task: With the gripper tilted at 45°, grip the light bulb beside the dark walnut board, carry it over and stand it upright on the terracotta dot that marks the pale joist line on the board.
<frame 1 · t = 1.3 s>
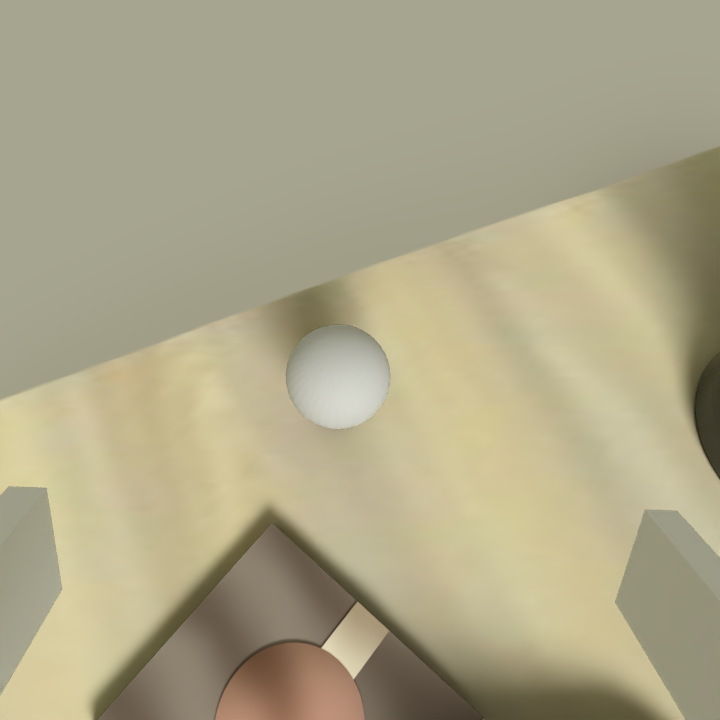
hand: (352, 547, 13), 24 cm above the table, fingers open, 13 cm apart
light bulb: (333, 413, 39), on the table
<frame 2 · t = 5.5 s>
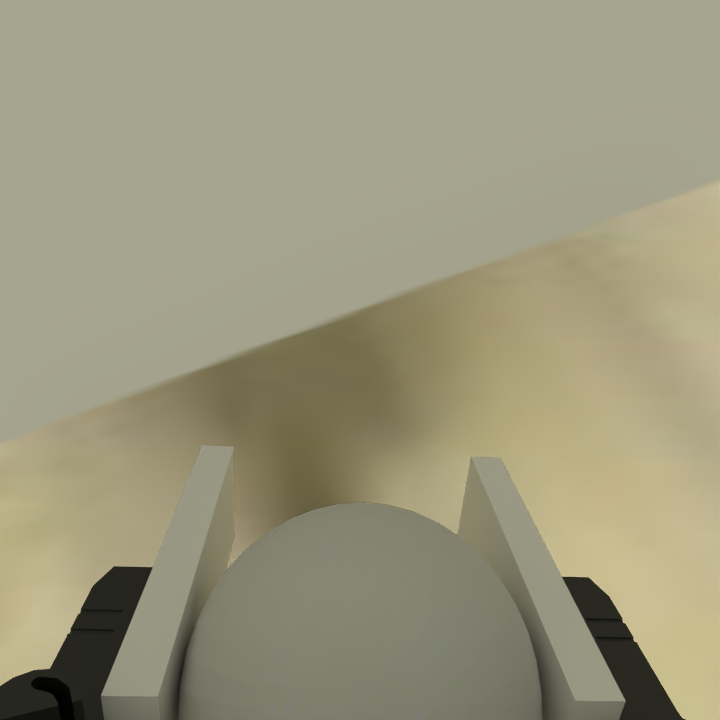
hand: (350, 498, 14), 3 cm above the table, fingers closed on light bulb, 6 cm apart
light bulb: (337, 646, 16), on the table, touching gripper
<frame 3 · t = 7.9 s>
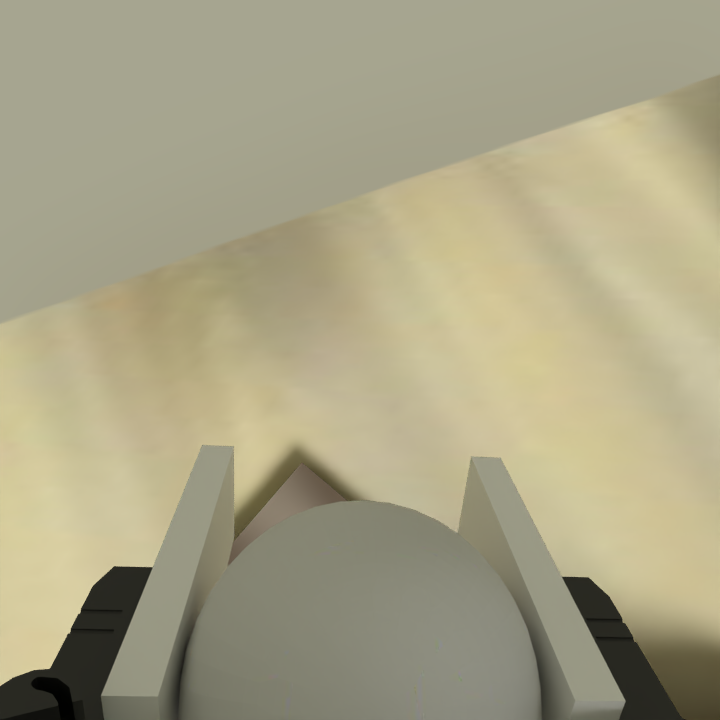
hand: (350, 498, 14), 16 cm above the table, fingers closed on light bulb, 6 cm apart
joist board: (332, 690, 26), on the table
light bulb: (337, 645, 16), point 12 cm above the table, touching gripper
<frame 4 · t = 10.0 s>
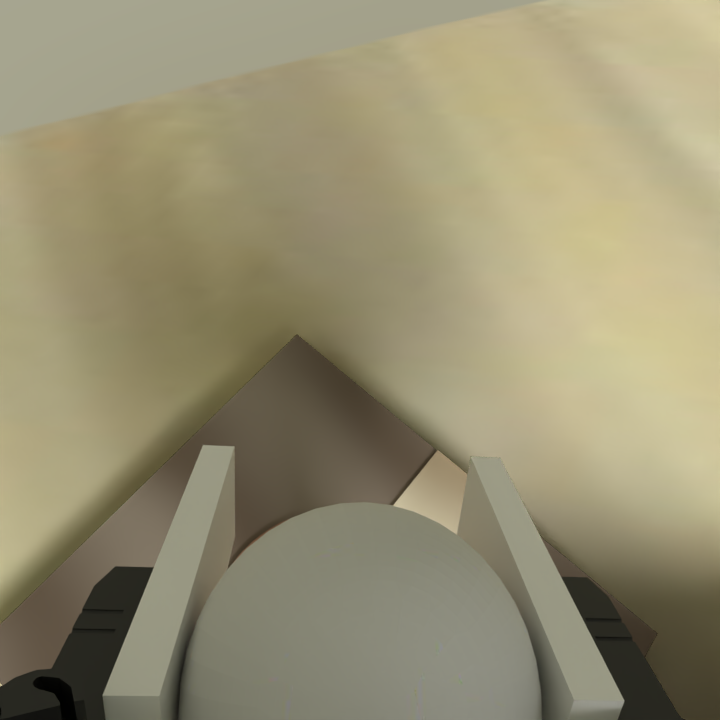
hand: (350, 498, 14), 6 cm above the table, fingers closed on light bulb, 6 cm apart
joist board: (331, 639, 19), on the table
light bulb: (337, 646, 16), point 3 cm above the table, touching gripper
when the fingers open (6 cm above the table, at t = 10.2 s): light bulb drops 1 cm, resting on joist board.
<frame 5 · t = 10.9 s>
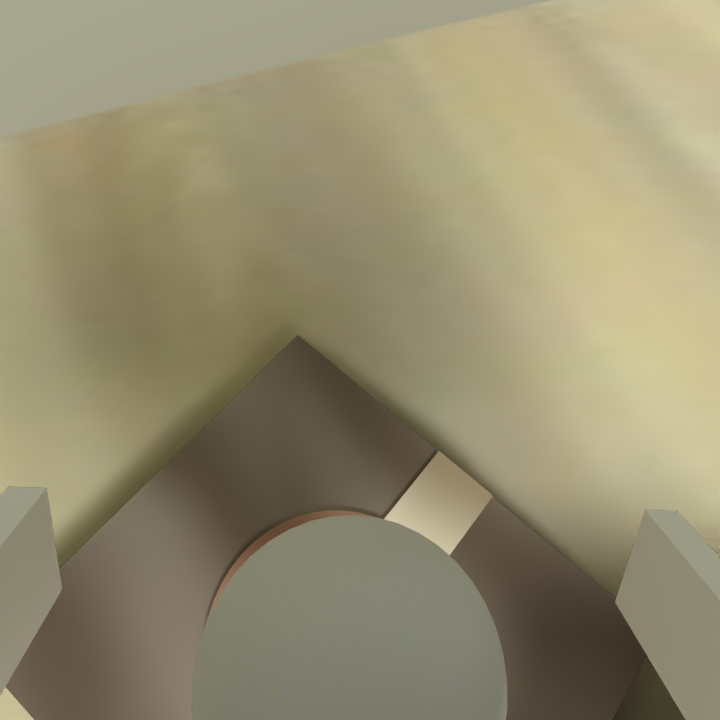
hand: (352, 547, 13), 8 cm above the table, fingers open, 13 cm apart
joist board: (333, 639, 19), on the table
light bulb: (338, 643, 18), point 1 cm above the table, touching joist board
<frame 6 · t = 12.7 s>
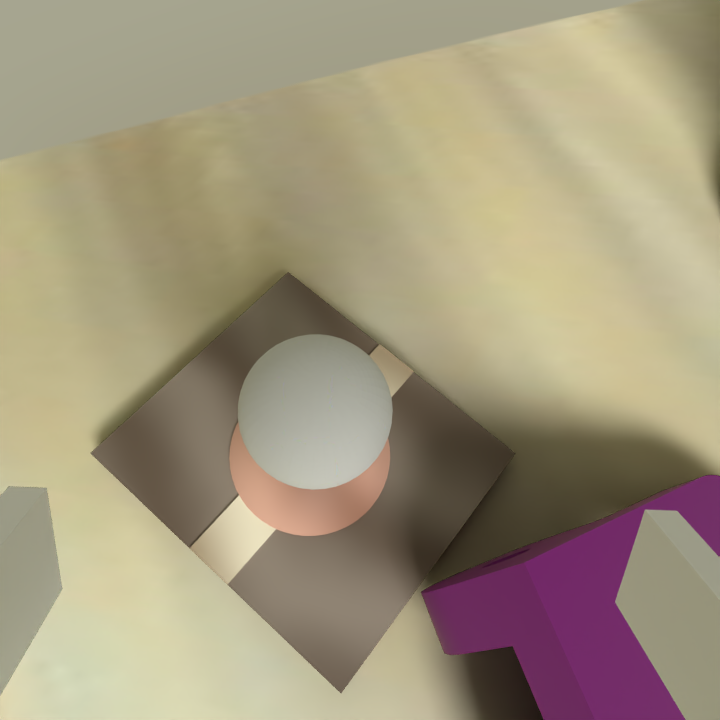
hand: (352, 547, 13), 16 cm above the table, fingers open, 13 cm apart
mounting bracket: (616, 620, 28), on the table
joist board: (310, 458, 29), on the table
light bulb: (313, 453, 28), point 1 cm above the table, touching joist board
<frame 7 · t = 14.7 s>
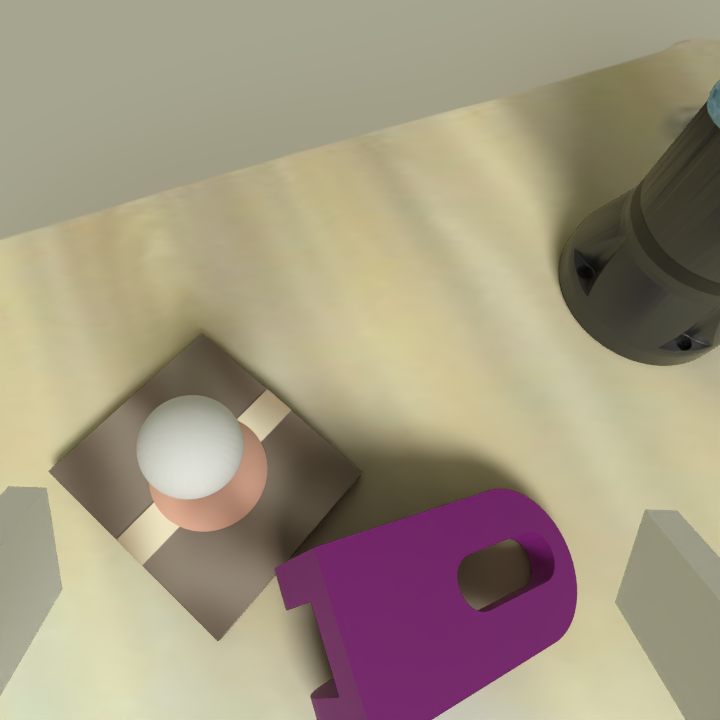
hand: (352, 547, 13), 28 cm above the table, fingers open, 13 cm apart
mounting bracket: (432, 593, 39), on the table
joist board: (211, 475, 40), on the table
light bulb: (210, 472, 39), point 1 cm above the table, touching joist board
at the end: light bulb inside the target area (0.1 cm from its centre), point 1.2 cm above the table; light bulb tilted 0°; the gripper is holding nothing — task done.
